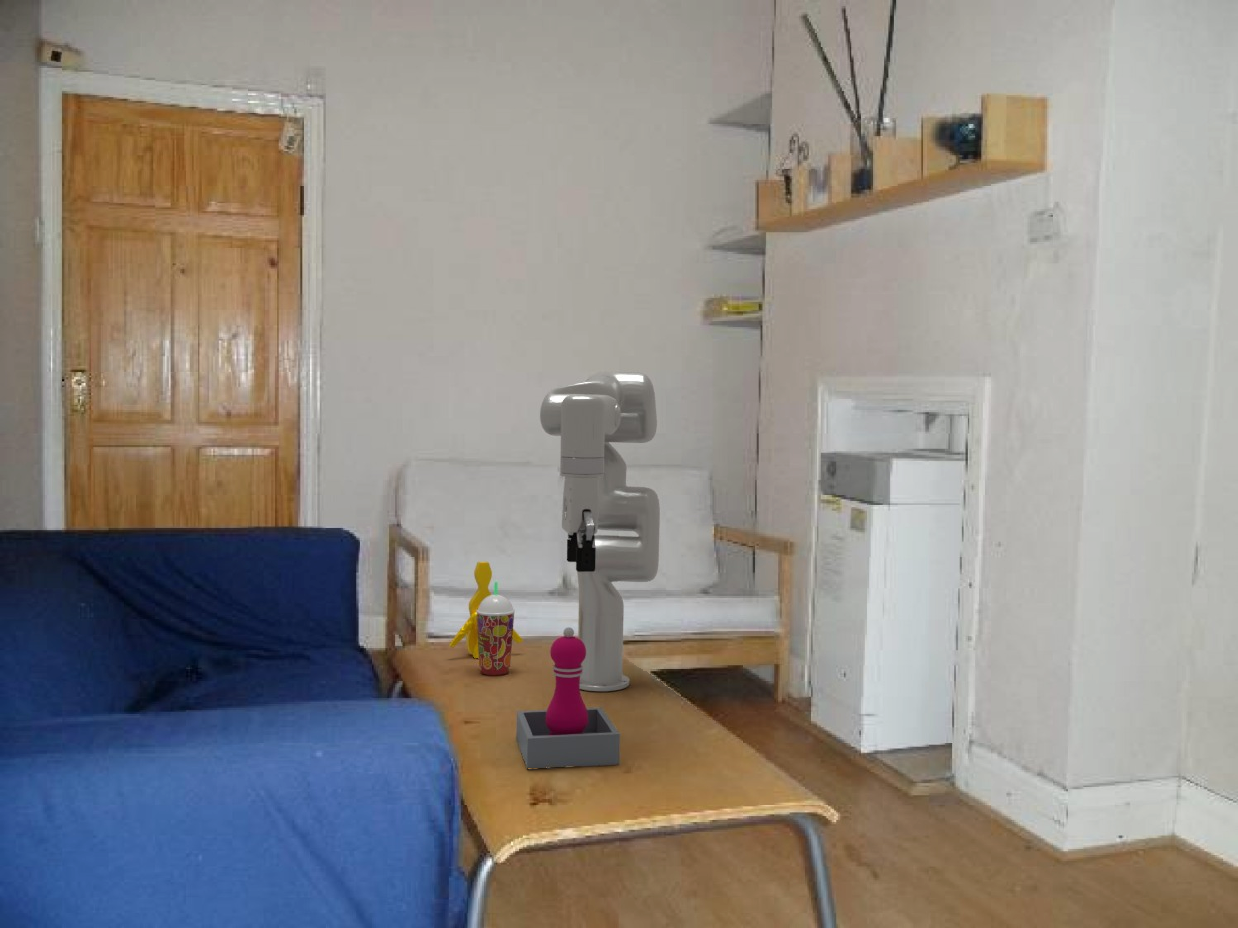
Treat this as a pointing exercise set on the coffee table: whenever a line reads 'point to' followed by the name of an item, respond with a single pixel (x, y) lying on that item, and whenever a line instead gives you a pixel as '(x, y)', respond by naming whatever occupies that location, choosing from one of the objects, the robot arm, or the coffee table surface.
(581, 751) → the bin
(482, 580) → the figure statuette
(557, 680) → the pepper mill
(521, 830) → the coffee table surface
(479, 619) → the smoothie
